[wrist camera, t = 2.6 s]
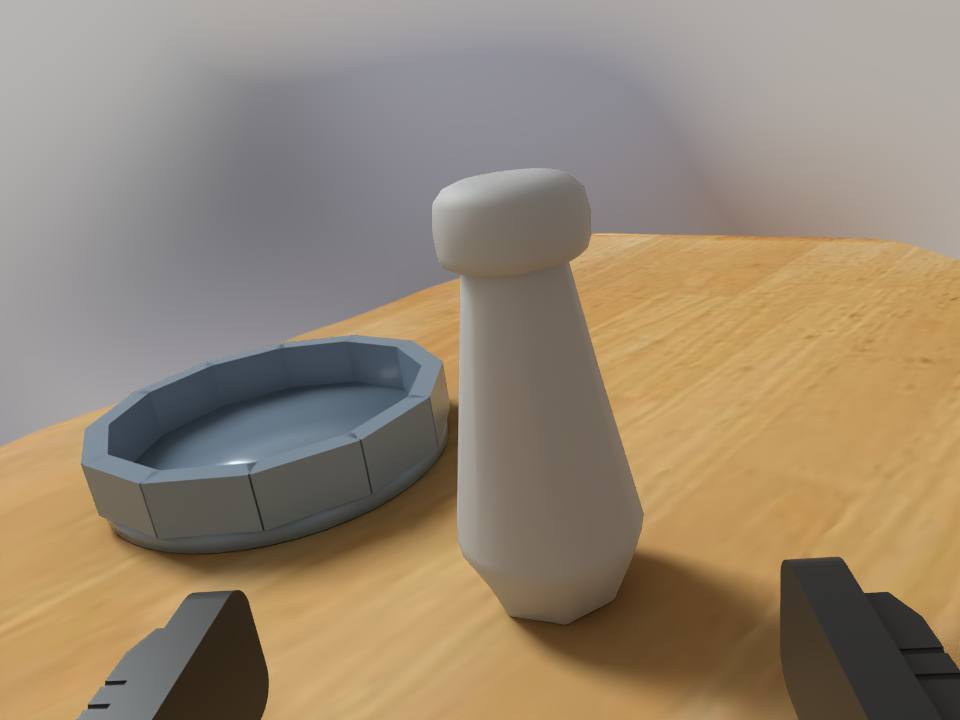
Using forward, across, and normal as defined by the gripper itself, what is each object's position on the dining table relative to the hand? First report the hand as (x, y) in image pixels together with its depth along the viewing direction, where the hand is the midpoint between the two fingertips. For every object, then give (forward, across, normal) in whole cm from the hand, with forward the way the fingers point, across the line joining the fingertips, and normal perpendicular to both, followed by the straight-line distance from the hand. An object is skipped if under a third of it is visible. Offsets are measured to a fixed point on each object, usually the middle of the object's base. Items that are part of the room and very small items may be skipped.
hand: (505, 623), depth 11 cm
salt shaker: (+11, 0, +8) cm, 14 cm away
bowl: (+22, +13, +8) cm, 27 cm away
